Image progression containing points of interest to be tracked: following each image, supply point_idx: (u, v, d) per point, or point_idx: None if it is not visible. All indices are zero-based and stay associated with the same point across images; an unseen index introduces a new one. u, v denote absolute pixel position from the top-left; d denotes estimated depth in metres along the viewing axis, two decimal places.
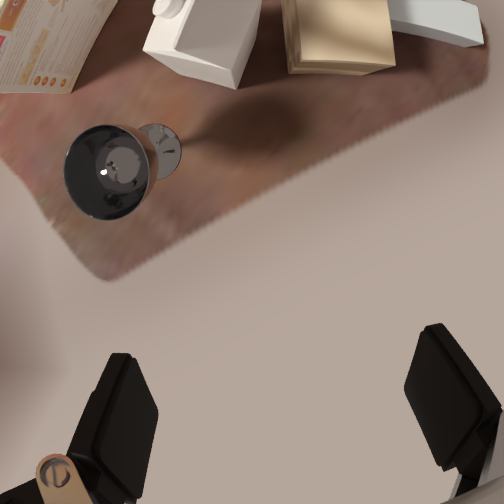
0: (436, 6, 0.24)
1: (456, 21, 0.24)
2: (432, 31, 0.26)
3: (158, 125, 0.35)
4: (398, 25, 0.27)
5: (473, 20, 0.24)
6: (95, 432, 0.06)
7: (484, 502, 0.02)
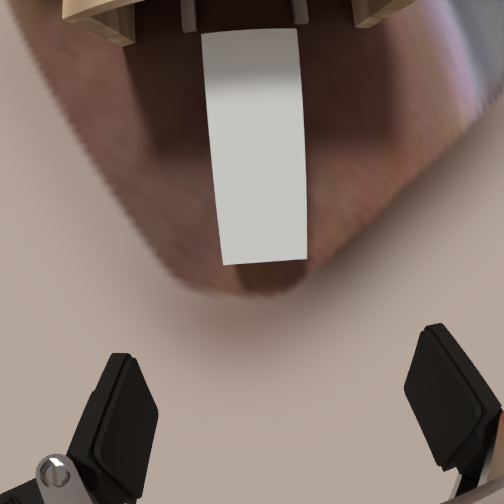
0: (266, 151, 0.19)
1: (248, 197, 0.21)
2: None
3: None
4: None
5: (267, 242, 0.22)
6: (95, 432, 0.06)
7: (484, 502, 0.02)
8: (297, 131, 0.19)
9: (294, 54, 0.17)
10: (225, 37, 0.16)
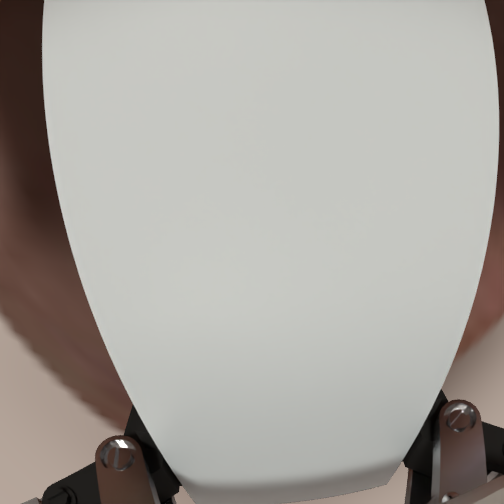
0: (339, 289, 0.04)
1: (254, 428, 0.05)
2: None
3: None
4: None
5: (302, 485, 0.07)
6: None
7: (484, 502, 0.02)
8: (475, 199, 0.04)
9: None
10: None
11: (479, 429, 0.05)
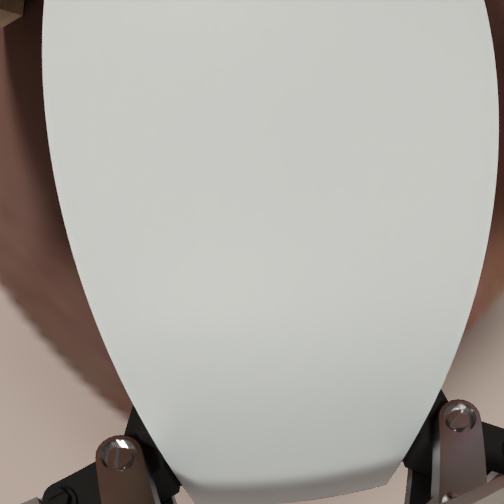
0: (340, 289, 0.04)
1: (254, 428, 0.05)
2: None
3: None
4: None
5: (302, 485, 0.07)
6: None
7: (484, 502, 0.02)
8: (475, 200, 0.04)
9: None
10: None
11: (478, 429, 0.05)
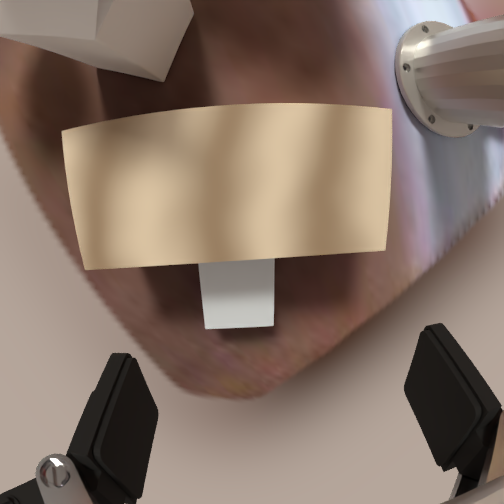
0: None
1: (226, 279, 0.25)
2: None
3: None
4: None
5: (241, 313, 0.27)
6: (95, 432, 0.06)
7: (484, 502, 0.02)
8: None
9: None
10: None
11: None
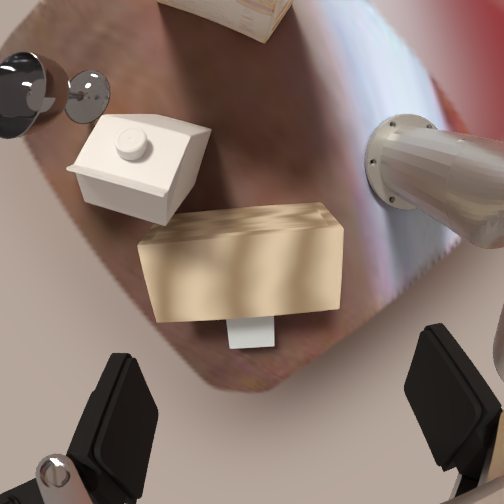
0: None
1: (243, 319, 0.39)
2: None
3: (108, 98, 0.32)
4: None
5: (253, 339, 0.41)
6: (95, 432, 0.06)
7: (484, 502, 0.02)
8: None
9: None
10: None
11: None
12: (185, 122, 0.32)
